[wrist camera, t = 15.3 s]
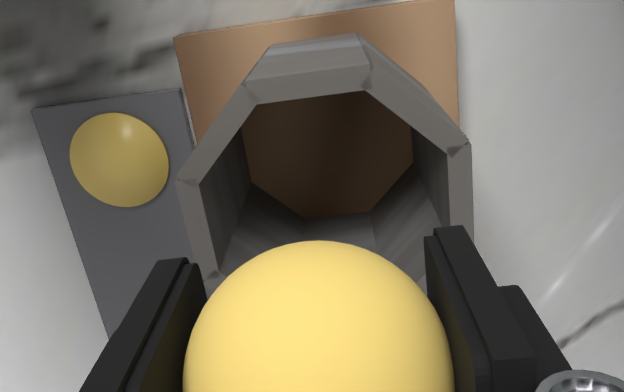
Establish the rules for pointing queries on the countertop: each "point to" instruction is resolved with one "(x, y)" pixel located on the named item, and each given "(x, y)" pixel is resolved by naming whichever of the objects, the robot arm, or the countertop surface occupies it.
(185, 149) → the card
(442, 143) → the double cup sorting tray
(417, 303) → the ochre ball
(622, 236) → the countertop surface
